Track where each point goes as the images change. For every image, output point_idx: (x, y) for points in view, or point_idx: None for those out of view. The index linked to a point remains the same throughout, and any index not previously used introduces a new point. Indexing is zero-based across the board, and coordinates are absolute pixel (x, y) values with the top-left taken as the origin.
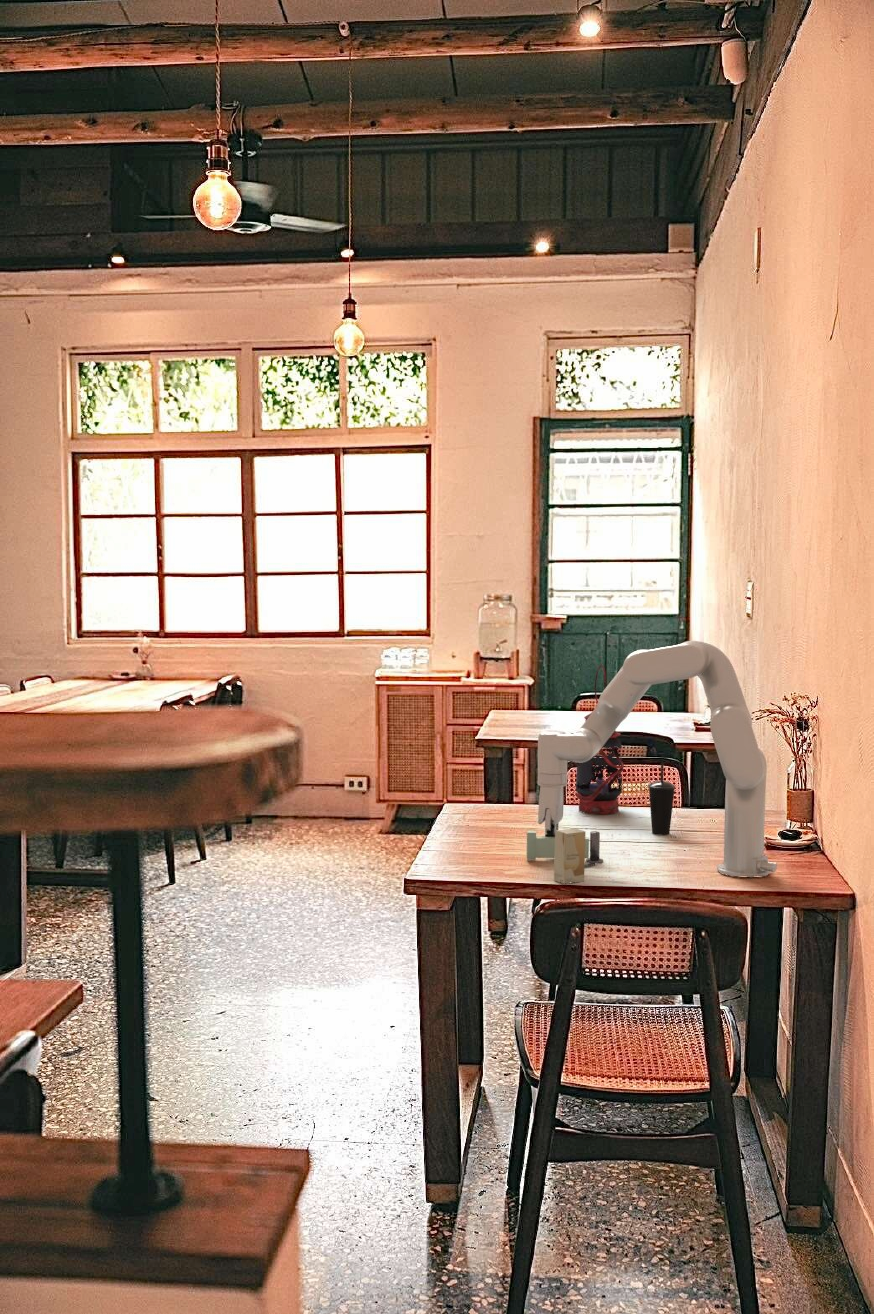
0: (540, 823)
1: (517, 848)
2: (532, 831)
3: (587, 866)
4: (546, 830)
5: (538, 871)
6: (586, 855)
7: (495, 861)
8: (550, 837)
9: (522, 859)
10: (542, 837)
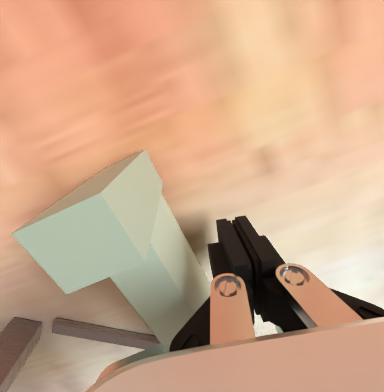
0: (189, 350)
1: (359, 5)
2: (94, 253)
3: (150, 346)
4: (141, 354)
5: (4, 255)
6: None
7: (17, 3)
8: (172, 315)
9: (142, 128)
10: (147, 280)
